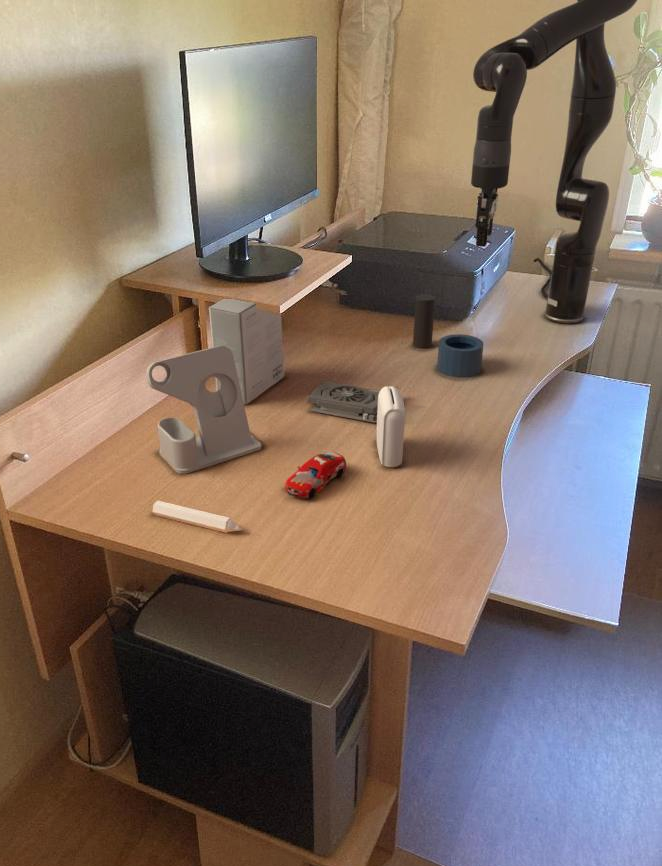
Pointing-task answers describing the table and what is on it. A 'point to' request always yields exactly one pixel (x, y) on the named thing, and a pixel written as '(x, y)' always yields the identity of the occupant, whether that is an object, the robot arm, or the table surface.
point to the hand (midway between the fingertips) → (483, 240)
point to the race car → (315, 475)
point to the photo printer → (390, 426)
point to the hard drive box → (249, 344)
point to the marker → (195, 517)
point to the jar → (460, 355)
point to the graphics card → (345, 401)
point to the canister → (423, 321)
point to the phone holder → (203, 411)
